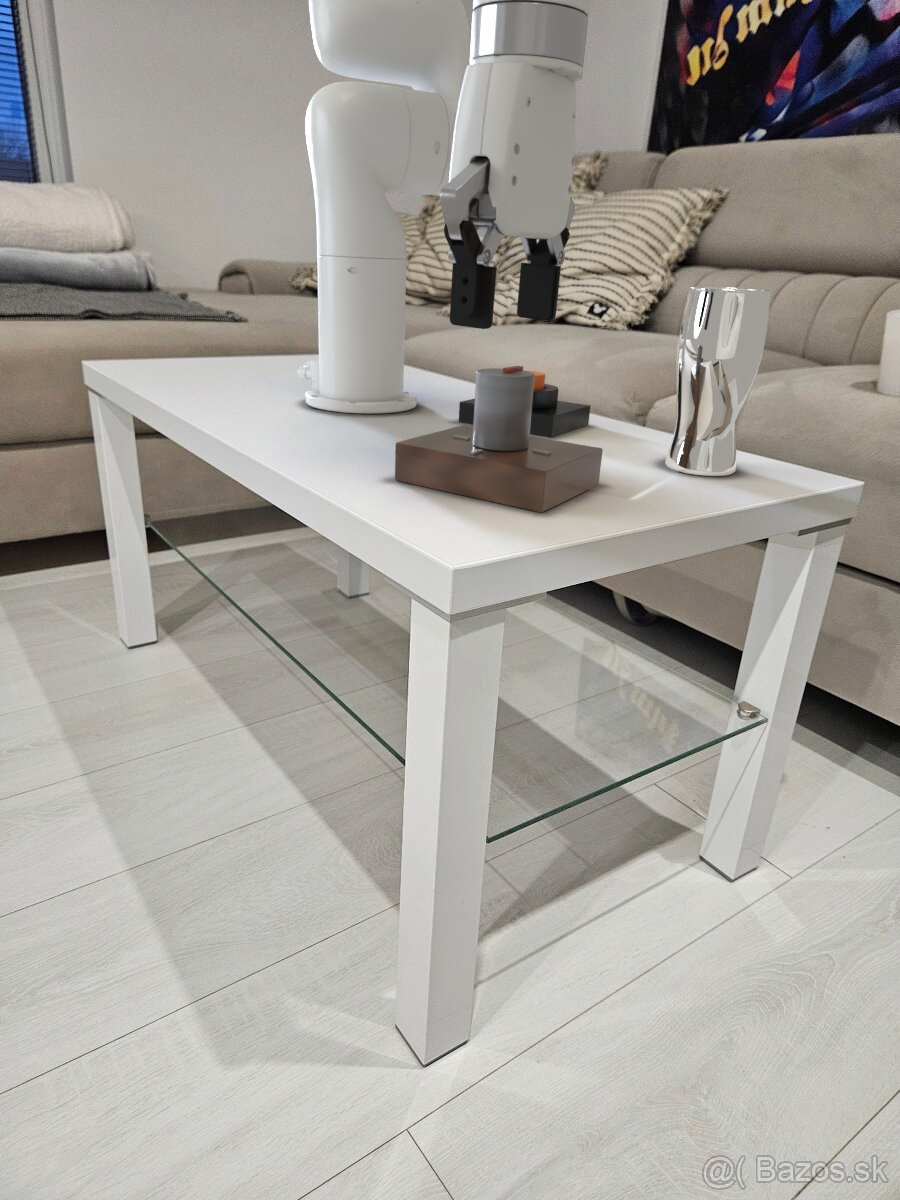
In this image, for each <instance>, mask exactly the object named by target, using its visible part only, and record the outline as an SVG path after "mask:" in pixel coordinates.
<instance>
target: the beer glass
mask: <svg viewBox="0 0 900 1200" xmlns="http://www.w3.org/2000/svg"><path fill="white" fill-rule="evenodd" d="M772 293H773V292H772V290H770V289H760V288H750V287H749V288H748V287H732V286H715V285H714V286H713V285H711V286H710V285H689V286H688V290H687V294H686V300H685V304H684V307H683V312H682V318H681V322H680V328H679V331H678V338H677V339H678V340H677V347H676V359H675V360H676V361H675V362H676V363H675V364H676V365H675V387H676V388H675V389H676V415H675V416H676V418H675V427H674V432H673V435H672V439H671V443H670V446H669V448H668V451H667V454H666V457H665V461H664V463H665V466H666V467H667V468H668V469H671V470H674V471H677V472H680V473H684V474H688V475H695V476H701V477H702V476H703V477H725V476H730V475H733V474H734V473H735V472H736V471H737V442H738V441H737V440H738V432H739V428H740V424H741V420H742V417H743V414H744V411H745V408H746V406H747V403H748V400H749V398H750V395H751V393H752V389H753V387H754V383H755V381H756V378H757V376H758V372H759V369H760V366H761V363H762V358H763V355H764V349H765V344H766V338H767V333H768V332H767V331H768V325H769V315H770V305H771V297H772Z"/></svg>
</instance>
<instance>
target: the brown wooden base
mask: <svg viewBox="0 0 900 1200" xmlns="http://www.w3.org/2000/svg"><path fill="white" fill-rule="evenodd" d="M472 441H473V425H470V424H462V425H458V426H454V427H450V428H447V429H443V430H439V431H438V430H437V431H434V432H432V433H431V432H430V433H427V434H424V435H419V436H416V437H412V438H408V439H405V440H402V441H401V440H400V441H396V442H395V451H394V452H395V453H394V454H395V456H394V458H395V459H394V480H395V481H397V482H401V483H402V482H403V483H406V484H411V485H415V486H420V487H424V488H428V489H432V490H433V489H434V490H438V491H442V492H447V493H450V494H451V493H452V494H455V495H461V496H465V497H468V498H474V499H478V500H484V501H488V502H492V503H496V504H500V505H505V506H510V507H514V508H519V509H524V510H528V511H532V512H538V513H541V514H542V513H544V512H546V511H549V510H550V509H552V508H554V507H556V506H558V505H560V504H562V503H565V502H566V501H569V500H570V499H573V498H575V497H577V496H579V495H581V494H584V493H585V492H587V491H589V490H590V489H593V488H595V487H596V486H599V483H600V476H601V466H602V458H603V450H604V449H603V448H601V447H595V446H590V445H585V444H580V443H579V444H578V443H574V442H573V443H572V442H568V441H567V442H566V441H561V440H557V439H556V440H555V439H551V438H546V437H540V436H538V437H537V436H534V435H530V437H529V447H528V448H526V449H523V450H518V451H496V450H488V449H483V448H480V447H477V446H475V445H473V443H472Z"/></svg>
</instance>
